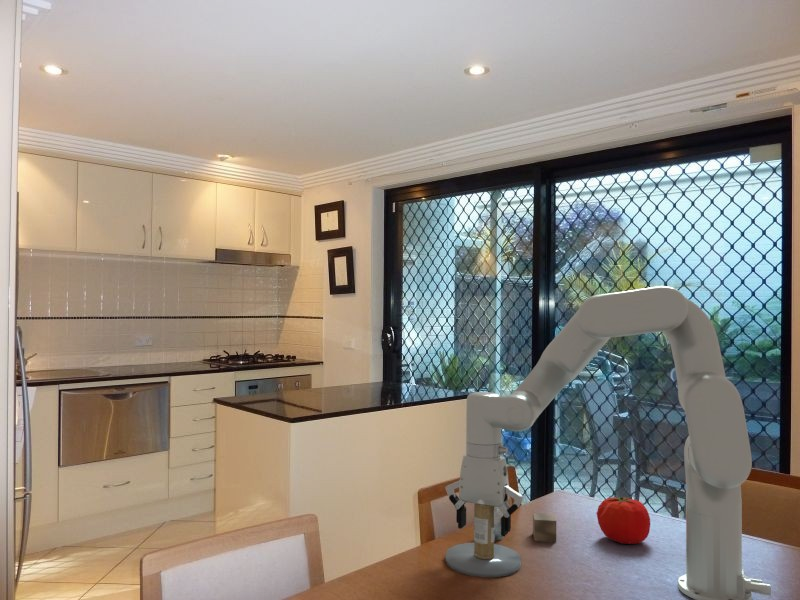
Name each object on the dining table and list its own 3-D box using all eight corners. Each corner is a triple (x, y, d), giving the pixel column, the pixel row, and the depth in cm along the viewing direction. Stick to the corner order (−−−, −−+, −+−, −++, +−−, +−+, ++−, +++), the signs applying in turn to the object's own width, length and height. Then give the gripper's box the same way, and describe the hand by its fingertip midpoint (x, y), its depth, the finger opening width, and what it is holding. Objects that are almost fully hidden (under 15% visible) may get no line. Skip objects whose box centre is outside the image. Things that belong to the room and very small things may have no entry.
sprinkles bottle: (499, 557, 130) (499, 493, 130) (482, 561, 127) (483, 496, 128) (484, 550, 134) (485, 488, 134) (468, 554, 131) (469, 491, 132)
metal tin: (505, 536, 146) (505, 502, 147) (498, 542, 142) (499, 508, 142) (485, 532, 149) (485, 499, 149) (478, 539, 144) (478, 504, 144)
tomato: (653, 538, 146) (653, 494, 146) (646, 553, 136) (646, 507, 136) (602, 529, 152) (602, 487, 152) (592, 543, 142) (592, 499, 142)
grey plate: (529, 555, 134) (529, 550, 134) (507, 583, 120) (507, 577, 120) (461, 543, 141) (461, 537, 141) (433, 567, 127) (433, 561, 127)
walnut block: (553, 535, 148) (553, 514, 148) (556, 542, 143) (556, 520, 143) (532, 533, 148) (532, 513, 149) (534, 541, 143) (534, 519, 144)
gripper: (527, 451, 131) (527, 532, 130) (453, 443, 139) (452, 519, 138) (517, 458, 124) (517, 543, 124) (439, 449, 132) (439, 529, 131)
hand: (483, 530), depth 131 cm, fingers open, 9 cm apart
